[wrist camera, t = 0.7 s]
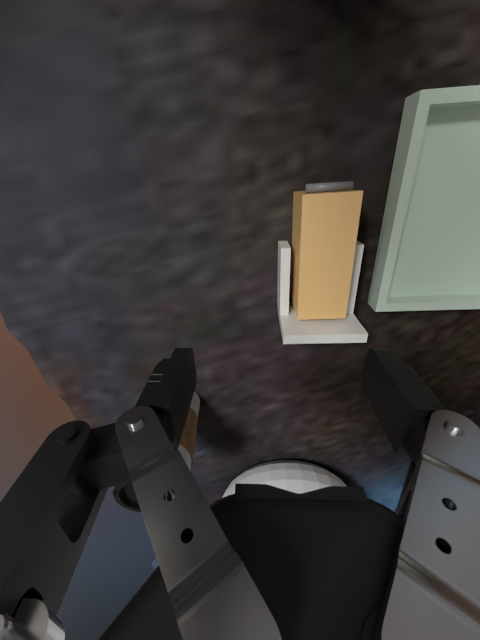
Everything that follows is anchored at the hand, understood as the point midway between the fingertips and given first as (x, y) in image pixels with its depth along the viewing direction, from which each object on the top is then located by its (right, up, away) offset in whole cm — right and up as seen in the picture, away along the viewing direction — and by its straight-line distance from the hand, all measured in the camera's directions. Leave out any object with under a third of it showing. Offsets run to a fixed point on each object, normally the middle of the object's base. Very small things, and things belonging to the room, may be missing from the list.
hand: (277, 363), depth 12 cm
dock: (+7, +7, +19) cm, 22 cm away
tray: (+21, +13, +16) cm, 29 cm away
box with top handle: (+7, +10, +18) cm, 22 cm away
